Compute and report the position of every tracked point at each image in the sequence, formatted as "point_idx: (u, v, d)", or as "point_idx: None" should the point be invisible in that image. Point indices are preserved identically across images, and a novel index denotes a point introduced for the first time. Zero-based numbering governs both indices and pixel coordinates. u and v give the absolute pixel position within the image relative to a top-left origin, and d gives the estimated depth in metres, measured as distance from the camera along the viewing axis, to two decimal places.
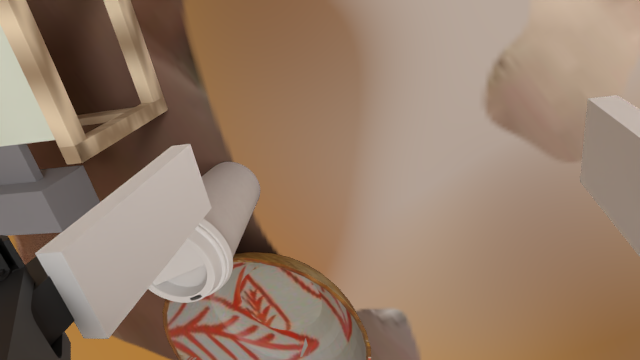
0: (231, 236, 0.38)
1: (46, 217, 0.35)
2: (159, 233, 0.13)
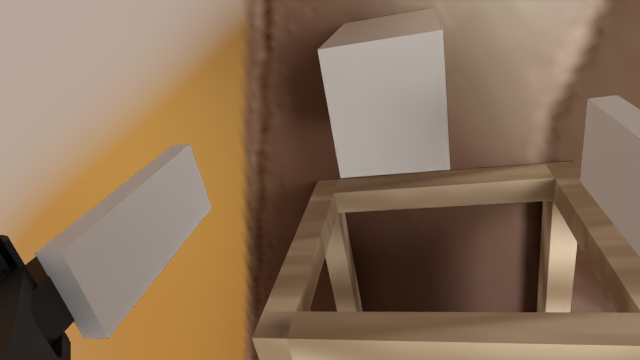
0: None
1: None
2: (159, 233, 0.13)
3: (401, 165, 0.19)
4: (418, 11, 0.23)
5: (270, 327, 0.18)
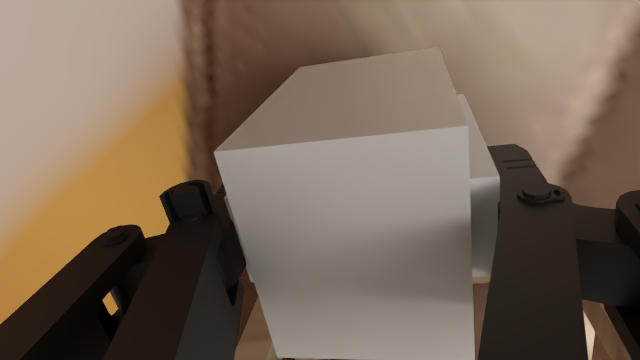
0: None
1: None
2: None
3: (384, 348, 0.10)
4: (414, 52, 0.14)
5: None
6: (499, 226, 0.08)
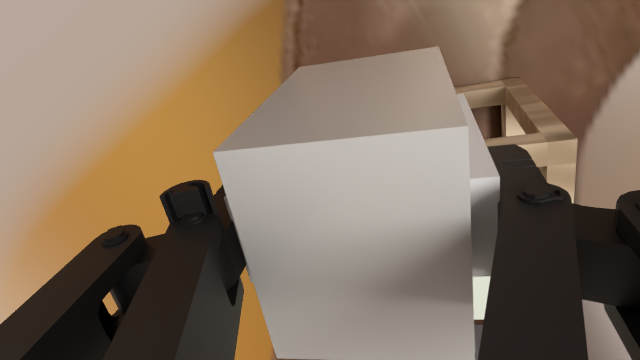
0: None
1: None
2: None
3: (384, 349, 0.10)
4: (414, 52, 0.14)
5: None
6: (499, 226, 0.08)
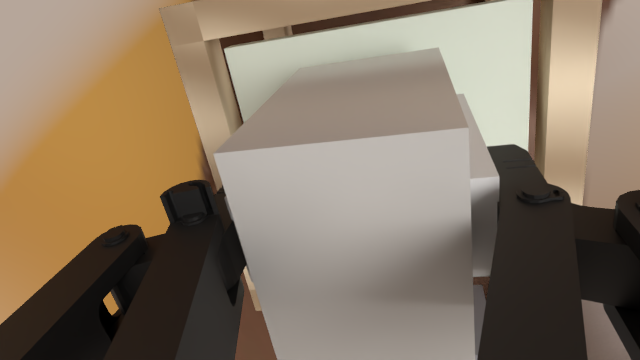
0: None
1: None
2: None
3: (384, 350, 0.10)
4: (414, 53, 0.14)
5: None
6: (499, 226, 0.08)
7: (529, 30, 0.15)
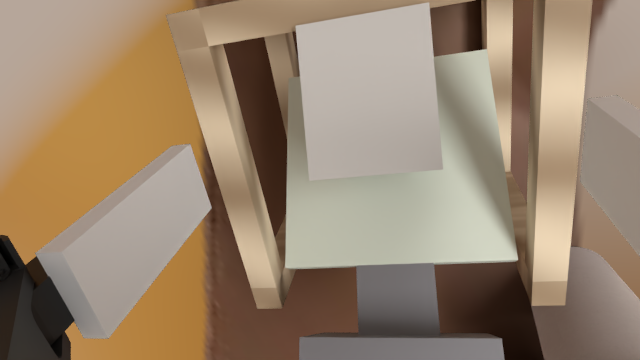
0: None
1: None
2: (159, 233, 0.13)
3: (383, 163, 0.16)
4: None
5: None
6: None
7: (488, 67, 0.24)
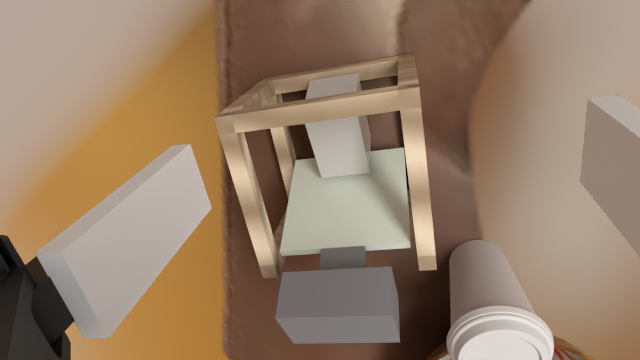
0: None
1: (380, 295, 0.31)
2: (159, 233, 0.13)
3: None
4: None
5: (223, 114, 0.34)
6: None
7: (403, 155, 0.44)
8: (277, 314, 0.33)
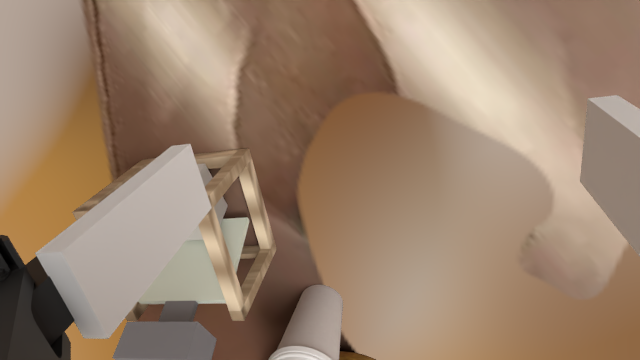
0: (337, 359, 0.54)
1: (183, 344, 0.44)
2: (159, 233, 0.13)
3: None
4: None
5: (80, 208, 0.46)
6: None
7: (245, 224, 0.56)
8: (114, 354, 0.46)
